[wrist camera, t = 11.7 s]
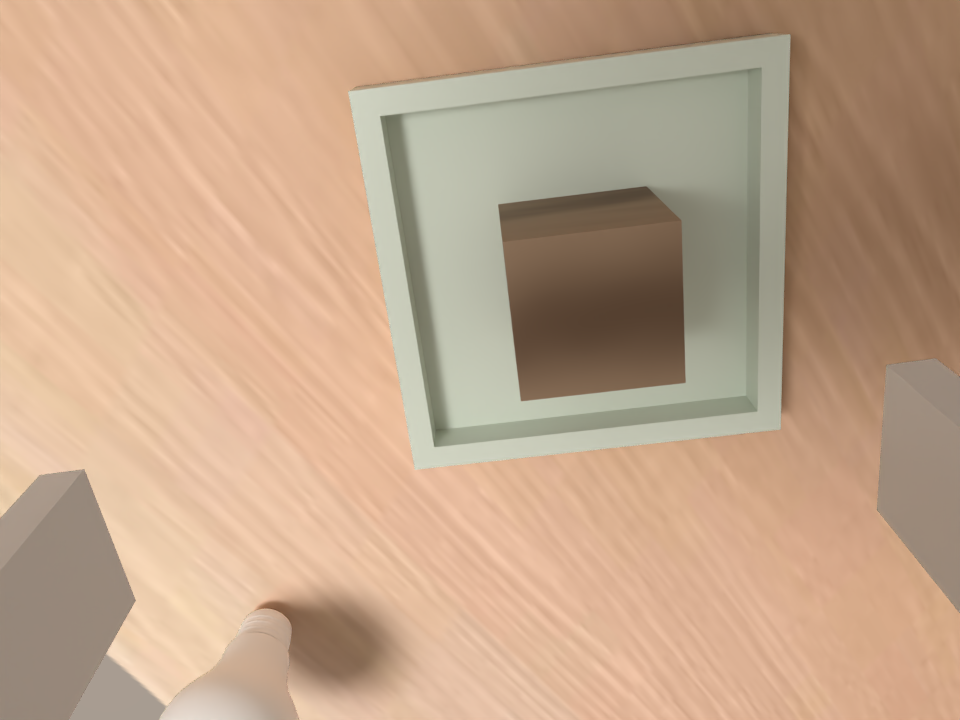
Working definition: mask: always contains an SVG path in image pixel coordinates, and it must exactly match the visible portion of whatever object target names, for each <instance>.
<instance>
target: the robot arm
mask: <svg viewBox="0 0 960 720" xmlns="http://www.w3.org/2000/svg"><path fill="white" fill-rule="evenodd" d="M877 511H878V512H879V513H880V514H881V516H882V517H883V518H884V519H885V521H886V522H887V523H888V524H889V526H890V527H891V528H892V529H893V530H894V532H895V533H896V534H897V535H898V537H899V538H900V539H901V540H902V542H903V543H904V544H905V545H906V547H907V548H908V549H909V550H910V552H911V553H912V554H913V555H914V557H915V558H916V559H917V560H918V562H919V563H920V564H921V565H922V567H923V568H924V569H925V570H926V572H927V573H928V574H929V575H930V577H931V578H932V579H933V580H934V582H935V583H936V584H937V585H938V586H939V588H940V589H941V590H942V591H943V593H944V594H945V595H946V596H947V598H948V599H949V600H950V601H951V603H952V604H953V605H954V606H955V608H956V609H957V610H958V611H959V613H960V377H959V376H958V375H957V374H955V373H954V372H953V371H952V370H950V369H949V368H948V367H946V366H945V365H944V364H942V363H941V362H940V361H938V360H937V359H936V358H935V359H927V360H920V361H912V362H904V363H897V364H889V365H886V380H885V395H884V410H883V425H882V440H881V455H880V470H879V486H878V501H877ZM135 601H136V600H135V597H134V595H133V592H132V590H131V587H130V585H129V582H128V580H127V577H126V574H125V572H124V569H123V567H122V564H121V562H120V559H119V557H118V554H117V551H116V549H115V546H114V544H113V541H112V539H111V536H110V534H109V531H108V529H107V526H106V523H105V521H104V518H103V516H102V513H101V511H100V508H99V506H98V503H97V500H96V498H95V495H94V493H93V490H92V488H91V485H90V483H89V480H88V478H87V475H86V472H85V470H84V469H83V470H76V471H68V472H60V473H53V474H45V475H39V477H38V478H37V479H36V480H35V481H34V482H33V483H32V484H31V485H30V486H29V487H28V489H27V490H26V491H25V492H24V493H23V494H22V495H21V496H20V497H19V498H18V499H17V501H16V502H15V503H14V504H13V505H12V506H11V507H10V508H9V509H8V510H7V512H6V513H5V514H4V515H3V516H2V517H1V518H0V720H69V718H70V717H71V715H72V713H73V711H74V709H75V708H76V706H77V704H78V702H79V701H80V699H81V697H82V695H83V693H84V691H85V690H86V688H87V686H88V684H89V683H90V681H91V679H92V677H93V676H94V674H95V672H96V670H97V668H98V667H99V665H100V663H101V661H102V660H103V658H104V656H105V654H106V652H107V651H108V649H109V647H110V645H111V644H112V642H113V640H114V638H115V636H116V635H117V633H118V631H119V629H120V627H121V626H122V624H123V622H124V620H125V619H126V617H127V615H128V613H129V611H130V610H131V608H132V606H133V604H134V603H135Z"/></svg>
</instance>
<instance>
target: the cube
mask: <svg viewBox="0 0 960 720" xmlns="http://www.w3.org/2000/svg"><path fill="white" fill-rule="evenodd" d="M498 209H499V217H500V226H501V235H502V244H503V253H504V262H505V270H506V279H507V288H508V297H509V306H510V315H511V323H512V332H513V341H514V349H515V357H516V365H517V374H518V382H519V390H520V398H521V401H529V400H538V399H547V398H556V397H565V396H574V395H583V394H592V393H601V392H610V391H618V390H627V389H636V388H645V387H654V386H663V385H672V384H681V383H686V376H685V337H684V297H683V257H682V220H681V219H680V218H679V217H677V216H676V215H675V214H674V213H673V212H672V211H671V210H670V209H669V208H668V207H667V206H666V205H665V204H664V203H663V202H662V201H661V200H660V199H659V198H658V197H657V196H656V195H655V194H654V193H653V192H652V191H651V190H650V189H649V188H648V187H647V186H644V187H636V188H627V189H619V190H611V191H603V192H595V193H586V194H578V195H570V196H562V197H554V198H546V199H537V200H529V201H521V202H513V203H505V204H498Z"/></svg>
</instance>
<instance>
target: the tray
mask: <svg viewBox="0 0 960 720" xmlns="http://www.w3.org/2000/svg"><path fill="white" fill-rule="evenodd" d="M789 74H790V34H775V33H768V34H760V35H752V36H744V37H737V38H729V39H721V40H714V41H706V42H698V43H690V44H683V45H675V46H667V47H660V48H652V49H644V50H636V51H629V52H621V53H613V54H606V55H598V56H590V57H582V58H575V59H567V60H559V61H552V62H544V63H536V64H528V65H521V66H513V67H505V68H498V69H490V70H482V71H474V72H467V73H459V74H451V75H444V76H436V77H428V78H420V79H413V80H405V81H397V82H390V83H382V84H374V85H366V86H359V87H355V88H353V89H352V90H350V91H348V93H349V98H350V104H351V110H352V115H353V121H354V127H355V132H356V138H357V144H358V149H359V155H360V161H361V166H362V172H363V178H364V183H365V189H366V195H367V200H368V206H369V212H370V217H371V223H372V229H373V234H374V240H375V246H376V252H377V257H378V263H379V269H380V274H381V280H382V286H383V291H384V297H385V303H386V308H387V314H388V320H389V325H390V331H391V337H392V342H393V348H394V354H395V359H396V365H397V371H398V376H399V382H400V388H401V393H402V399H403V405H404V410H405V416H406V422H407V427H408V433H409V439H410V444H411V450H412V456H413V461H414V467H415V470H417V469H426V468H435V467H444V466H453V465H462V464H471V463H481V462H490V461H499V460H508V459H517V458H526V457H535V456H544V455H553V454H562V453H572V452H581V451H590V450H599V449H608V448H617V447H626V446H635V445H644V444H653V443H663V442H672V441H681V440H690V439H699V438H708V437H717V436H726V435H735V434H744V433H754V432H763V431H772V430H781V394H782V354H783V314H784V274H785V234H786V194H787V154H788V114H789ZM644 186H647V187H648V188H649V189H650V190H651V191H652V192H653V193H654V194H655V195H656V196H657V197H658V198H659V199H660V200H661V201H662V202H663V203H664V204H665V205H666V206H667V207H668V208H669V209H670V210H671V211H672V212H673V213H674V214H675V215H676V216H677V217H679V218H680V219H681V220H682V257H683V297H684V337H685V376H686V383H681V384H672V385H663V386H654V387H645V388H636V389H627V390H618V391H610V392H601V393H592V394H583V395H574V396H565V397H556V398H547V399H538V400H529V401H521V398H520V390H519V382H518V374H517V365H516V357H515V349H514V341H513V332H512V323H511V315H510V306H509V297H508V288H507V279H506V270H505V262H504V253H503V244H502V235H501V226H500V217H499V209H498V204H505V203H513V202H521V201H529V200H537V199H546V198H554V197H562V196H570V195H578V194H586V193H595V192H603V191H611V190H619V189H627V188H636V187H644Z"/></svg>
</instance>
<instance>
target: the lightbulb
mask: <svg viewBox="0 0 960 720" xmlns="http://www.w3.org/2000/svg"><path fill="white" fill-rule="evenodd" d="M291 635H292V626H291V623H290V622H289V620H288V619H287V618H286V617H285V616H284V615H283V614H282V613H280V612H278V611H276V610H273V609H259V610H256V611H253V612H251V613H250V614H248V615H247V616H246V618H245V619H244V621H243V623H242V624H241V627H240V629H239V631H238V633H237V635H236V637H235V638H234V639H233V640H232V641H231V642H230V643H229V644H228V646H227V647H226V649H225V651H224V653H223V655H222V657H221V659H220V660H219V662H218V663H217V664H216V666H215V667H214V668H213V669H211V670H210V671H209V672H207V673H206V674H204V675H202V676H200V677H199V678H197V679H196V680H194V681H193V682H192V683H190V684H189V685H188V686H186V687H185V688H183V689H182V690H181V691H180V692H179V693H178V694H177V695H176V696H175V697H174V698H173V700H172V701H171V702H170V703H169V705H168V706H167V707H166V709H165V710H164V712H163V713H162V715H161V717H160V719H159V720H299V717H298V714H297V711H296V708H295V705H294V703H293V700H292V698H291V696H290V694H289V692H288V686H287V675H288V670H289V663H290V660H289V654H288V650H289V646H290V642H291Z"/></svg>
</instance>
